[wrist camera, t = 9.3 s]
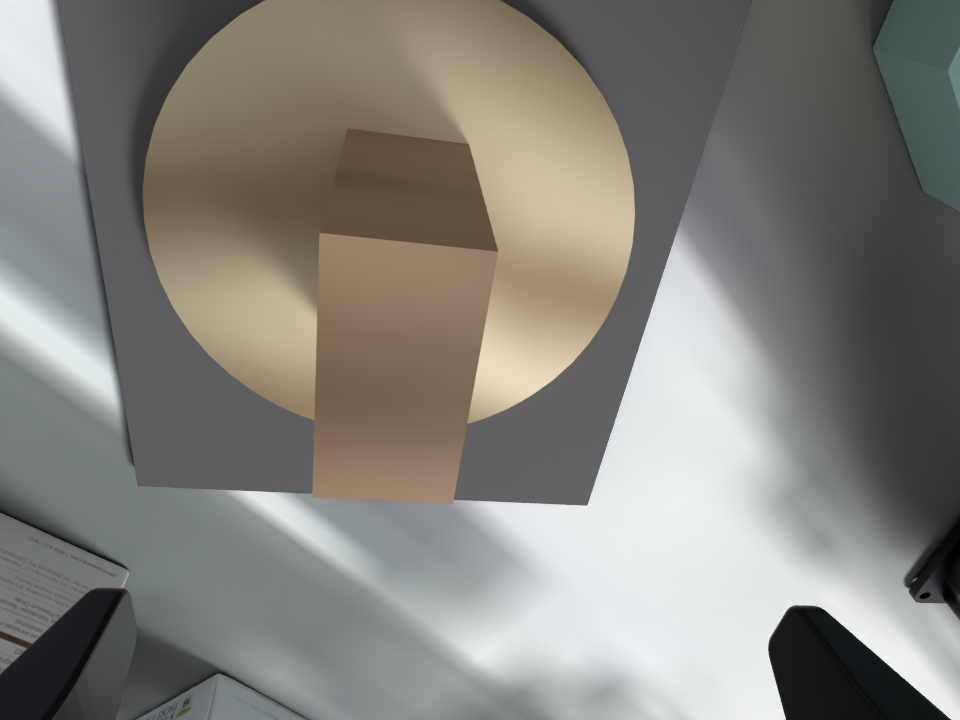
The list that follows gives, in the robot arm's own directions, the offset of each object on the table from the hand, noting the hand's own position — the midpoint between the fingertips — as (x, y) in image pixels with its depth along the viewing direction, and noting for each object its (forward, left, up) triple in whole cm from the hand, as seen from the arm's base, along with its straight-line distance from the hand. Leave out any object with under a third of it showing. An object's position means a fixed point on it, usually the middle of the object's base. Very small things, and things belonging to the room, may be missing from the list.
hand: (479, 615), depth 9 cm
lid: (0, +1, -12) cm, 12 cm away
